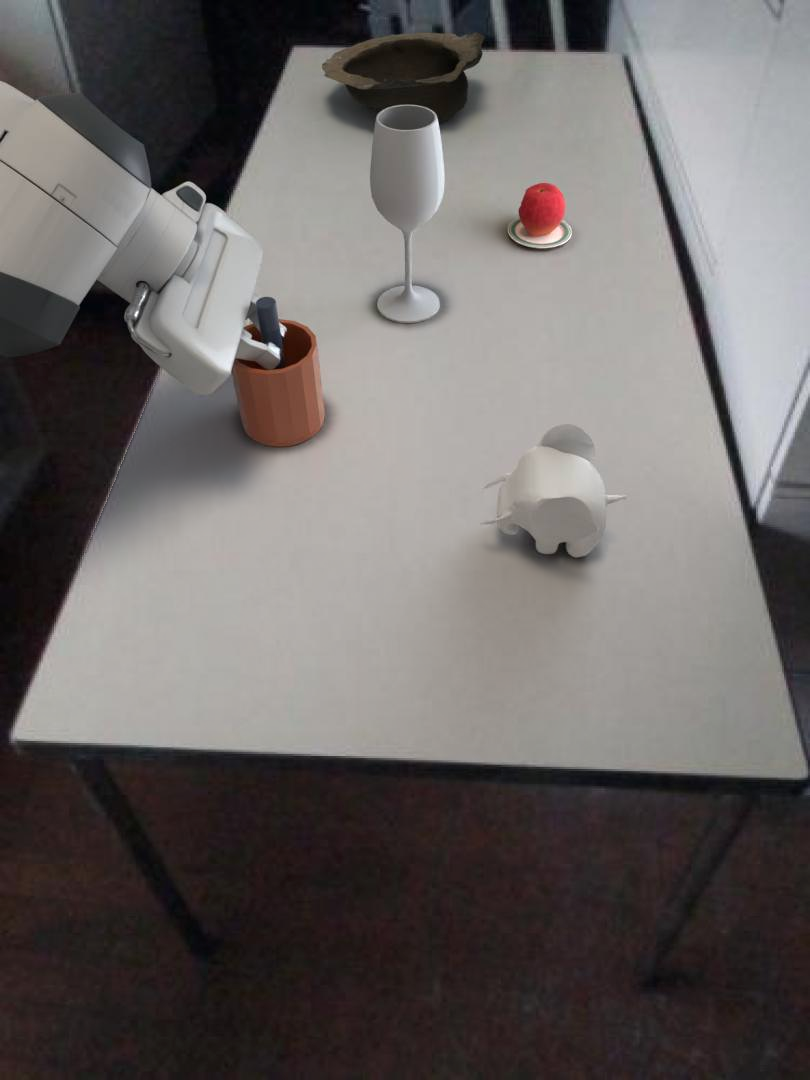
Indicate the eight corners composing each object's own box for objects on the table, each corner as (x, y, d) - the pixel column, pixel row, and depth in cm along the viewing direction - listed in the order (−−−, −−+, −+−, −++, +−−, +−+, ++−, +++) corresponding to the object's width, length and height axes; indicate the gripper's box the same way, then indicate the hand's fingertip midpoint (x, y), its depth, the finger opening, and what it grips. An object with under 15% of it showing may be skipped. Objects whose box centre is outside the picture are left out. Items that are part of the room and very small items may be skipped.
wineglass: (401, 279, 102) (397, 94, 86) (454, 300, 99) (461, 113, 83) (362, 309, 98) (351, 122, 82) (416, 332, 95) (416, 142, 79)
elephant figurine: (482, 486, 79) (488, 413, 72) (613, 497, 78) (632, 423, 71) (475, 566, 73) (481, 494, 66) (618, 578, 72) (638, 507, 65)
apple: (523, 256, 105) (528, 206, 100) (497, 224, 110) (501, 175, 105) (582, 244, 106) (590, 194, 101) (554, 213, 111) (560, 164, 106)
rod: (278, 414, 84) (260, 310, 75) (270, 404, 85) (252, 300, 76) (294, 408, 84) (279, 303, 75) (286, 398, 85) (270, 294, 76)
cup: (264, 458, 82) (250, 384, 75) (229, 410, 87) (213, 337, 80) (339, 427, 85) (332, 353, 78) (301, 382, 89) (291, 309, 82)
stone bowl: (491, 137, 125) (490, 70, 118) (322, 151, 127) (312, 86, 120) (482, 67, 141) (481, 4, 134) (333, 81, 143) (324, 20, 136)
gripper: (139, 302, 64) (285, 405, 71) (195, 171, 77) (313, 269, 84) (98, 350, 67) (240, 444, 74) (158, 217, 81) (274, 307, 88)
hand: (279, 350), depth 79 cm, fingers closed
